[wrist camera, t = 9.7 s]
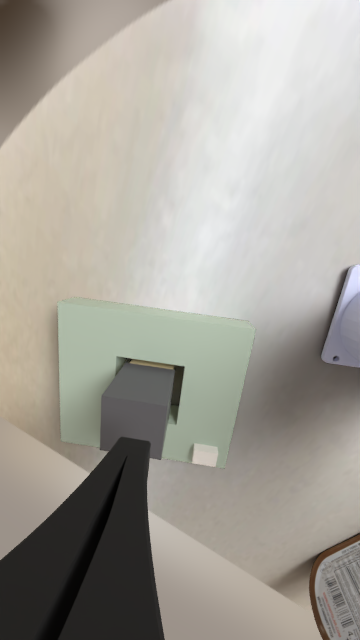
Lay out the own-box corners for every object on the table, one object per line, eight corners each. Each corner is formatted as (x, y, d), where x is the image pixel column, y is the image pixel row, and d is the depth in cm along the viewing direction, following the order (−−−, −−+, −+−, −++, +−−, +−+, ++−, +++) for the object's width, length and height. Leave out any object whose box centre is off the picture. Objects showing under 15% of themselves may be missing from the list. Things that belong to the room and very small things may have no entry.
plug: (177, 356, 19) (167, 406, 13) (172, 395, 20) (161, 459, 14) (134, 350, 19) (101, 395, 13) (131, 388, 20) (99, 449, 14)
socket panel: (248, 321, 18) (258, 332, 15) (221, 445, 21) (225, 476, 18) (75, 297, 19) (51, 303, 15) (75, 421, 22) (55, 447, 19)
